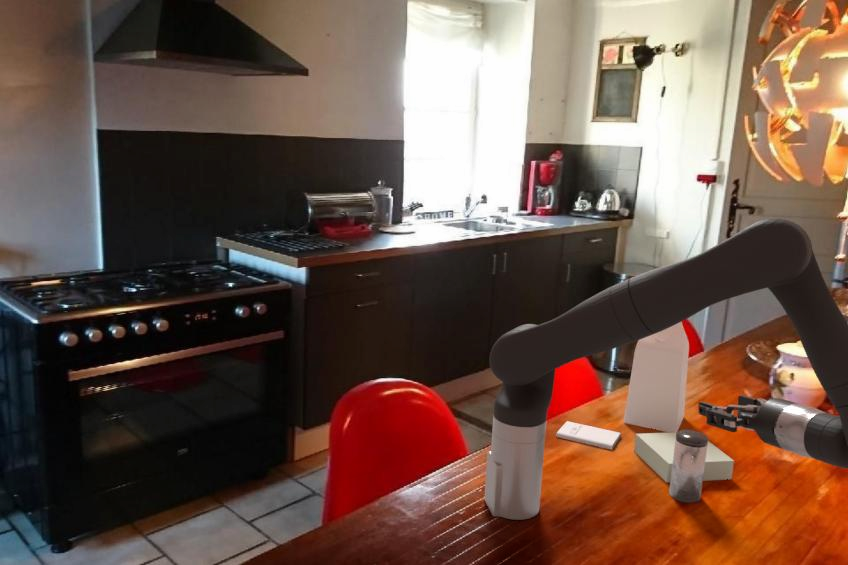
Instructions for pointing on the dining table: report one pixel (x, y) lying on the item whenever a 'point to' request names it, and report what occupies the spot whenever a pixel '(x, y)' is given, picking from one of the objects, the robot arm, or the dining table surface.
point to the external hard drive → (589, 435)
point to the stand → (661, 451)
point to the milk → (659, 381)
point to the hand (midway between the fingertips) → (719, 404)
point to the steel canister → (688, 465)
